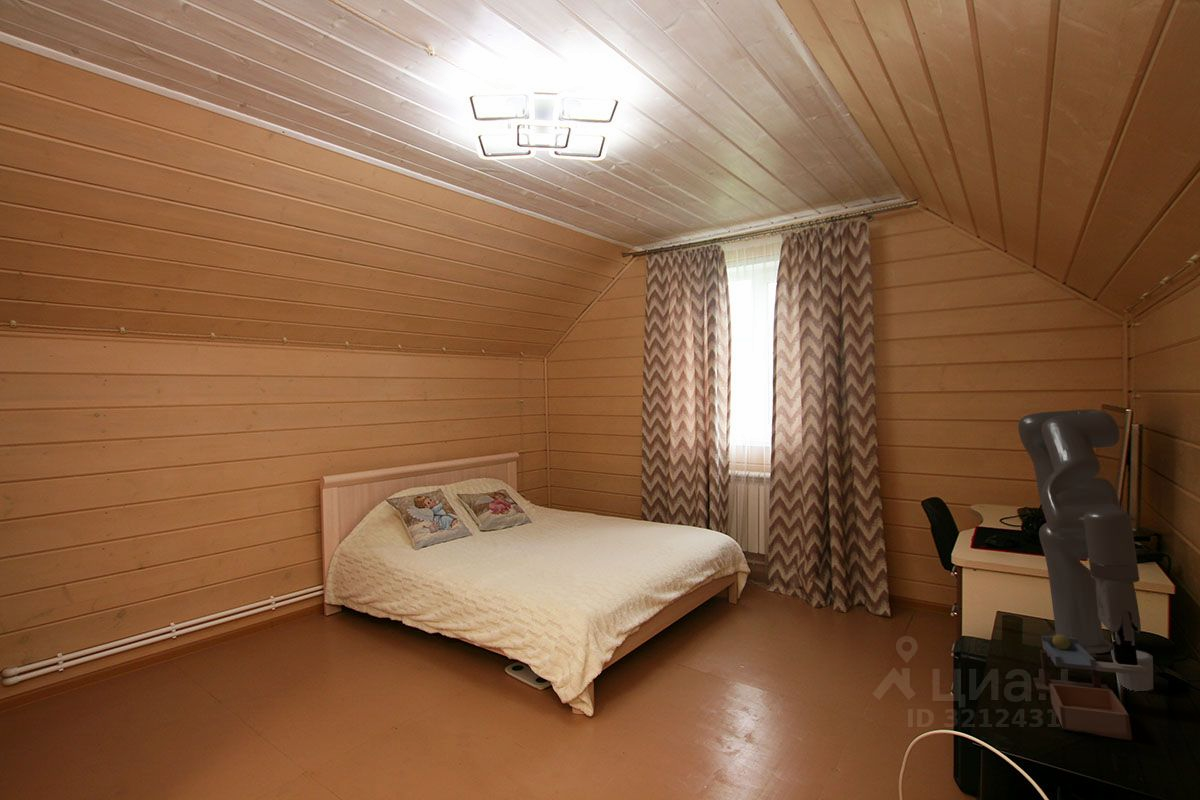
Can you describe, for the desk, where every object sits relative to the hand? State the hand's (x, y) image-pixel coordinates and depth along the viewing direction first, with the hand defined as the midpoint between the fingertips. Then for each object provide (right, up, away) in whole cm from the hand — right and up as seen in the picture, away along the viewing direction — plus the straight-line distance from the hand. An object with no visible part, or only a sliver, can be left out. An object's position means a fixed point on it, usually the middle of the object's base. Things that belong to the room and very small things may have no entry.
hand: (1126, 663), depth 119 cm
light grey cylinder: (+10, -9, +8) cm, 16 cm away
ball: (-1, -2, +15) cm, 15 cm away
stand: (-4, -10, +9) cm, 14 cm away
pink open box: (-11, -10, -4) cm, 15 cm away
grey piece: (-1, -4, +7) cm, 8 cm away
